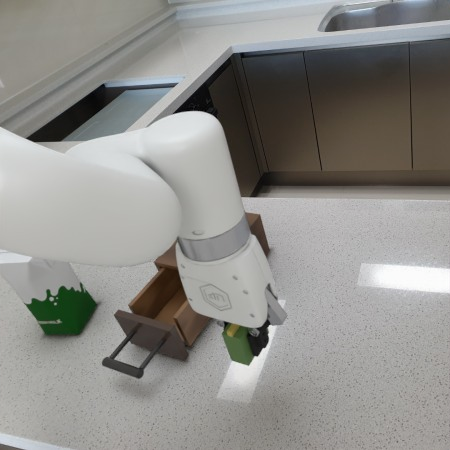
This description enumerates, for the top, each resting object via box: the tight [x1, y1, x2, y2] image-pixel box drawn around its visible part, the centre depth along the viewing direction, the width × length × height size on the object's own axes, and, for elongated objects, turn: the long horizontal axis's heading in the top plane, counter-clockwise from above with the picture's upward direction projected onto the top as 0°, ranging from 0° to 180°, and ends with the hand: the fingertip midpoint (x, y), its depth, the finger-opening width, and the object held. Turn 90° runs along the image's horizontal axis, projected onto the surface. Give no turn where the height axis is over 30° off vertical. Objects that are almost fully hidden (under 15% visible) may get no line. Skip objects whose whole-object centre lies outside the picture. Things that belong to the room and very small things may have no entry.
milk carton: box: [0, 249, 98, 336], centre depth 79 cm, size 9×9×20 cm
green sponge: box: [221, 322, 270, 367], centre depth 57 cm, size 3×6×6 cm, turn 155°
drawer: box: [101, 267, 212, 380], centre depth 75 cm, size 22×11×7 cm, turn 156°
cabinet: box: [153, 211, 271, 272], centre depth 86 cm, size 17×13×9 cm
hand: (249, 343), depth 59 cm, fingers closed on green sponge, 2 cm apart
